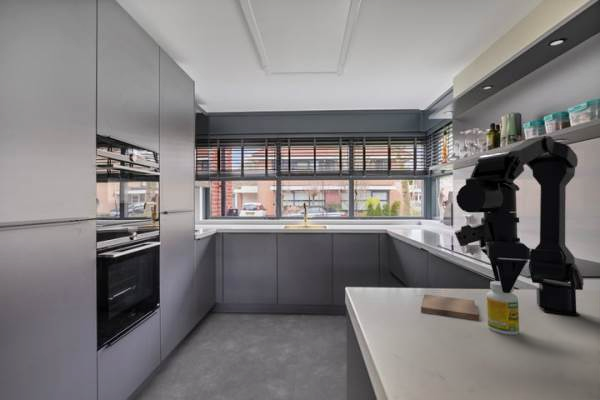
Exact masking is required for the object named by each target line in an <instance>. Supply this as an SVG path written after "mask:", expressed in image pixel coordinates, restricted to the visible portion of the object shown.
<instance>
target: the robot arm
mask: <svg viewBox="0 0 600 400" xmlns="http://www.w3.org/2000/svg"><path fill="white" fill-rule="evenodd" d="M525 165H526V166H527V167H528V168H529V169H530V170H532V171H531V172H532V177H533V178H534V180H535V181H536V182H537V183H538V184H539V186H540V197H539V199H540V202H539V204H540V205H539V208H540V209H539V210H540V211H539V217H540V218H539V221H540V222H539V243H538V245H536V246H535V248H532V249H530V247H528V246H527V244H525V243H523V242H521V238H520V237H518V224H520V217H517V216H518V215H517V213H518V212H517V192H518V191H520V190H521V189H520V187H519V185H517V184H516V183H514V181H515V180H516V179H518V177H520V176H521V174H523V172H525V168H524V166H525ZM577 166H578V155H577V154H576V153H575V152H574V150H573V149H572V148H571V146H569V145H567V144H565V143H562V142H559V141H556V140H554V138H553V137H552V136H551V135H549V136H548V135H541V136H538V137H532V138H527V139H526V140H523V142H521V143H520V144H517V145H515V146H513V147H511V148H508V149H507V150H505V151H503V152H497V153H492V154H485V155H481V156H479V157H478V159H477V162H476V163H475V166H474V168H473V170H472V171H471V174H470V177H468V178H466V179H465V184H463V186H461V188H460V189H459V191H458V192H457V195H456V197H455V198H456V204H457V206H458V207H459V209H461V211H464V212H465V213H472V214H474V213H479V214H480V213H483V216H482V217H481V219H480V223H479V224H476V225H472V226H471V225H470V224H466V225H462V226H461V227H460V229H459V230H455V231H454V235H455V237H456V240H457V242H458V244H459V247H464V246H468V245H469V244H472V243H476V242H479V243H478V244H479V245H478V246H479V247H480V250H481V252H483V254H485V255H486V257H487V259H488V260H489V263H490V266H491V270H492V273H493V277H494V281H500V283H501V287H502V291H503V293H510V292H511V290H512V288H513V286H515V283H516V282H517V280H518V279H519V276H520V275H521V273H522V271H523V270H524V268H525V266H526V265H527V264H528V270H529V274H530V279H531V282H532V283H533V284H538V287H537V288H536V305H537V306H539V308H540V309H541V310H542V311H543V313H544V312H546V313H551V314H559V315H567V316H573V317H574V316H575V317H579V316H580V315H581V314H580V312H578V311H577V297H576V296H577V294H576V293H577V292H576V291H583V290H584V284H585V283H584V278H583V276H582V273H581V272H580V270H579V268H578V266H577V264H575V263H576V262H575V256H574V255H573V253H572V252H571V251H570V249H569V248H568V247H567V245H566V200H567V199H566V193H567V192H566V190H567V185H568V184H569V183H570V182H571V181H572V179H573V178H574V177H575V174H576V168H577Z"/></svg>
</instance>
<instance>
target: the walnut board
mask: <svg viewBox="0 0 600 400" xmlns="http://www.w3.org/2000/svg"><path fill="white" fill-rule="evenodd" d="M420 312H421V313H425V312H429V313H428V314H432V313H435V314H434V315H439V314H440V316H448V317H455V318H461V319H462V318H463V319H467V320H475V321H479V312H478V309H477V306H476V302H475V300H474V299H468V298H460V297H459V298H458V297H449V296H442V295H441V296H440V295H433V294H424V295H423V298H422V300H421V305H420Z"/></svg>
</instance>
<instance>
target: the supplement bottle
mask: <svg viewBox="0 0 600 400" xmlns="http://www.w3.org/2000/svg"><path fill="white" fill-rule="evenodd" d="M514 286H515V285H514ZM514 286H513V288H512V290H511V292H510V293H503V291H502V287H501V283H500V281H495V280H493V281H490V285H489V288H490V291H488V292H487V294H486V305H487V306H486V308H487V310H486V311H487V312H486V313H487V327H488V328H489V329H490V330H491V331H493V332H495V333H498V334H502V335H507V336H508V335H509V336H510V335H512V336H514V335H518V334H519V332H520V321H519V298H518V296H517V295H516V294H514V293H513V292H514V291H515V287H514Z"/></svg>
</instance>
